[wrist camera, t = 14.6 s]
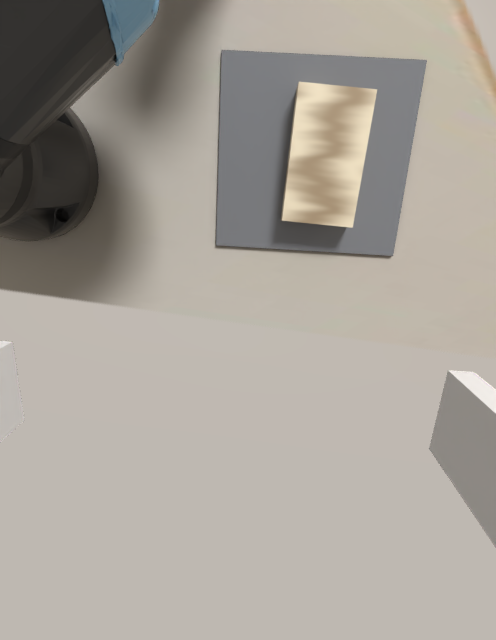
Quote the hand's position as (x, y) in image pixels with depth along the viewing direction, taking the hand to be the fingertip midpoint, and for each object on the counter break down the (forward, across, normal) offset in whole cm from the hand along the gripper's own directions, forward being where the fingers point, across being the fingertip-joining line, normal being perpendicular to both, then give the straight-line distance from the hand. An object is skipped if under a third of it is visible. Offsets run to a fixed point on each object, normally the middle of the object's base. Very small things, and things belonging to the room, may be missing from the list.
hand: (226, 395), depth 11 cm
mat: (+31, +6, +10) cm, 33 cm away
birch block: (+29, +6, +4) cm, 30 cm away
